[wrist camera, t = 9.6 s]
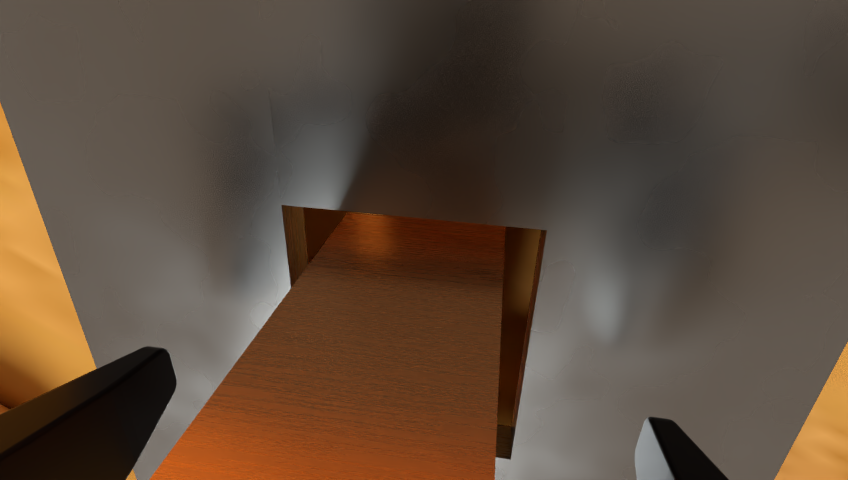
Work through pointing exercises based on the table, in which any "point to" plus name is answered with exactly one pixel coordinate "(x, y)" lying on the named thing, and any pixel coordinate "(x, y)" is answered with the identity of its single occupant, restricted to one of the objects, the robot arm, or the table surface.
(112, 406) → the robot arm
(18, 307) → the table surface
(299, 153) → the slotted plate
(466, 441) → the square wooden peg
